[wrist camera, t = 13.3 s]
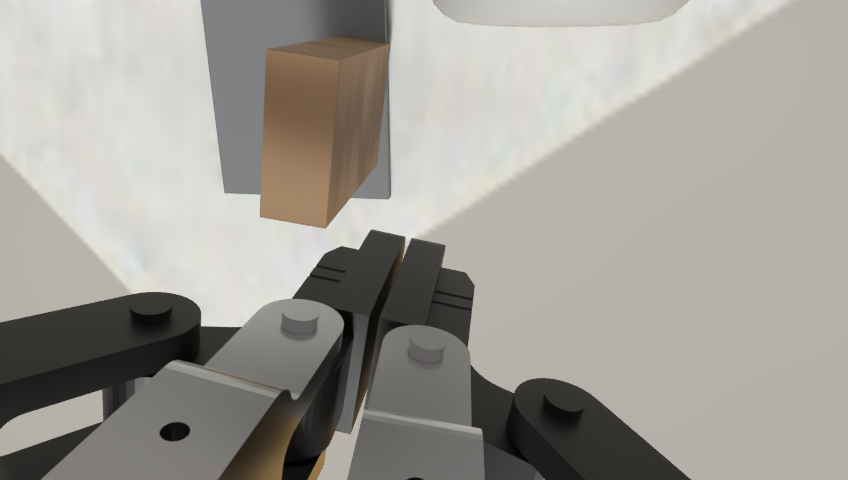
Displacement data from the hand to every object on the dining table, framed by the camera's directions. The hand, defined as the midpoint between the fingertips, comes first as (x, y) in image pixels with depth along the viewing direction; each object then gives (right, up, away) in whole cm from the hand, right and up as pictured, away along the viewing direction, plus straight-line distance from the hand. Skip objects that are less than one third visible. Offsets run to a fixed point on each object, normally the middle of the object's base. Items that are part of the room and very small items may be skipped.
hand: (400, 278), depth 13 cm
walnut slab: (-3, +8, +17) cm, 19 cm away
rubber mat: (-6, +8, +18) cm, 21 cm away
